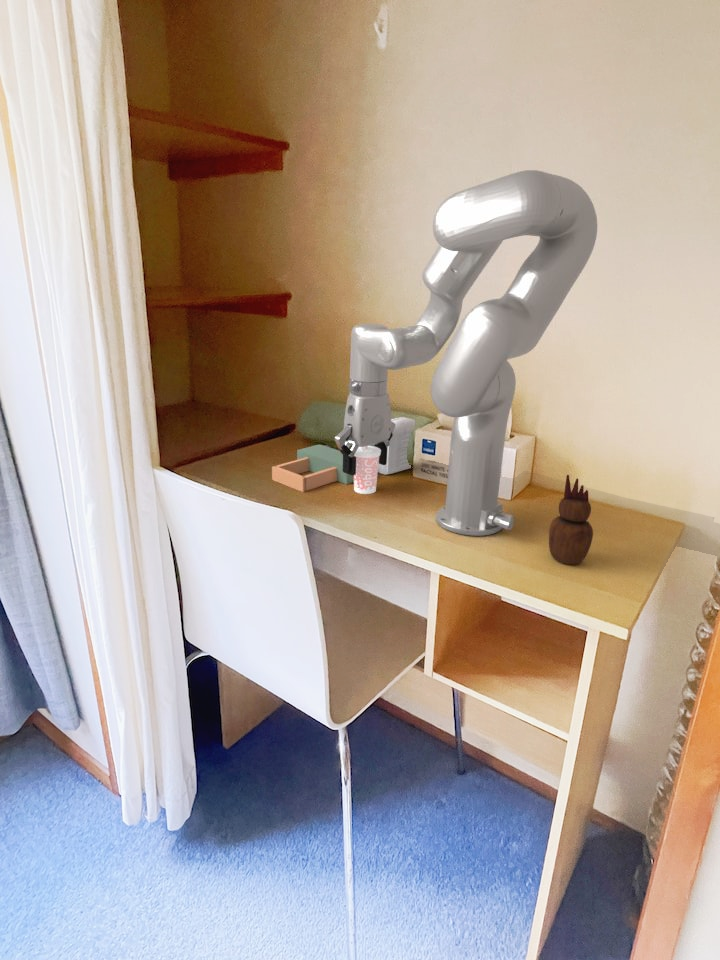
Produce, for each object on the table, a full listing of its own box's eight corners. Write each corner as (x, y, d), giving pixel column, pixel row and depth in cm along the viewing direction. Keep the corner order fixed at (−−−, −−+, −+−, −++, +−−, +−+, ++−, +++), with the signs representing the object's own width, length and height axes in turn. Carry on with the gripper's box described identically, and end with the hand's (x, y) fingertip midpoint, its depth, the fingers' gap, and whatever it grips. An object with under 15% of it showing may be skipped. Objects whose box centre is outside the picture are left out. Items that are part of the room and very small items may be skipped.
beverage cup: (350, 495, 129) (352, 430, 124) (350, 484, 134) (351, 422, 129) (380, 495, 129) (383, 430, 124) (378, 485, 135) (381, 422, 130)
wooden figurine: (541, 560, 103) (553, 476, 98) (551, 548, 108) (564, 467, 103) (582, 572, 100) (597, 485, 95) (591, 559, 104) (606, 475, 99)
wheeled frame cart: (371, 475, 140) (371, 459, 139) (312, 496, 127) (312, 477, 126) (322, 459, 150) (322, 443, 149) (263, 476, 138) (263, 459, 136)
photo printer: (403, 463, 149) (406, 413, 145) (417, 467, 146) (420, 416, 142) (373, 472, 143) (375, 419, 138) (387, 476, 140) (389, 423, 135)
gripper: (351, 397, 116) (349, 483, 122) (409, 385, 128) (404, 464, 134) (324, 390, 120) (322, 473, 126) (382, 379, 132) (378, 455, 138)
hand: (364, 468), depth 130 cm, fingers open, 9 cm apart
